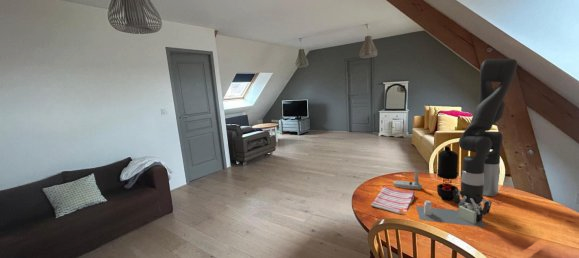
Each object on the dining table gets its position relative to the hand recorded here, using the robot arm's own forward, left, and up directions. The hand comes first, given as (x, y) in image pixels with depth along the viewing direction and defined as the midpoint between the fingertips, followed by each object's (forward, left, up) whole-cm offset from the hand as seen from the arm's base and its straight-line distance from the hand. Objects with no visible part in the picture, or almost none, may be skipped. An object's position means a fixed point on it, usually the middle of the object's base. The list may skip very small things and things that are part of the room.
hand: (469, 217), depth 102 cm
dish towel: (+15, -28, -3) cm, 32 cm away
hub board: (+6, -5, -2) cm, 8 cm away
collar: (0, 0, 0) cm, 0 cm away
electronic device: (-4, -38, -2) cm, 39 cm away
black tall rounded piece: (-9, -17, -2) cm, 19 cm away
